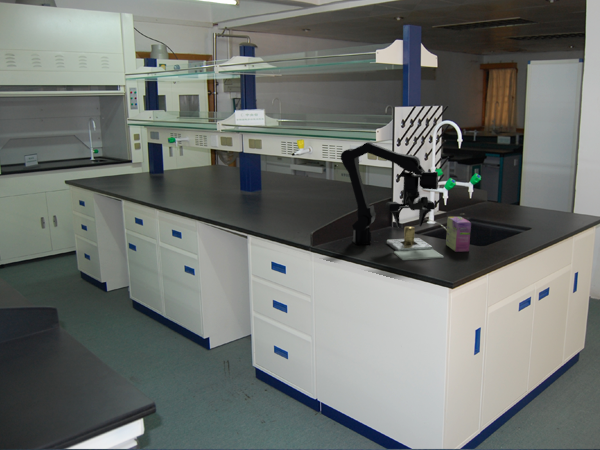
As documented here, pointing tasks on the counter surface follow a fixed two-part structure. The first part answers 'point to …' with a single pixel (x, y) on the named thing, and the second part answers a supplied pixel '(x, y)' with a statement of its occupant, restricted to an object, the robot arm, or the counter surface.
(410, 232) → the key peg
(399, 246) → the white marble square slab
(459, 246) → the box
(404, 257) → the mat
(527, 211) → the counter surface
